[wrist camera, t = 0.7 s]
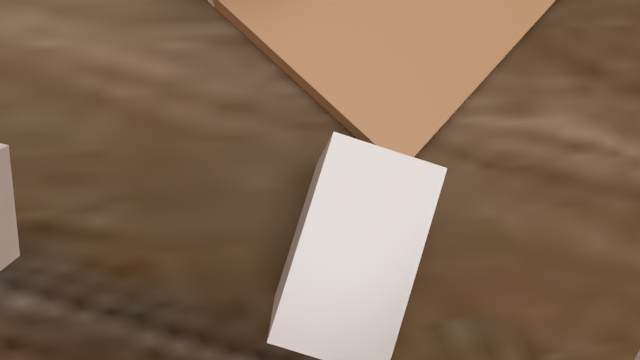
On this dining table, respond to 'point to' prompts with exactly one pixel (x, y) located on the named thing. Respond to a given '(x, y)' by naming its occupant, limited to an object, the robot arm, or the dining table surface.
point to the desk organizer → (386, 56)
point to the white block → (355, 252)
